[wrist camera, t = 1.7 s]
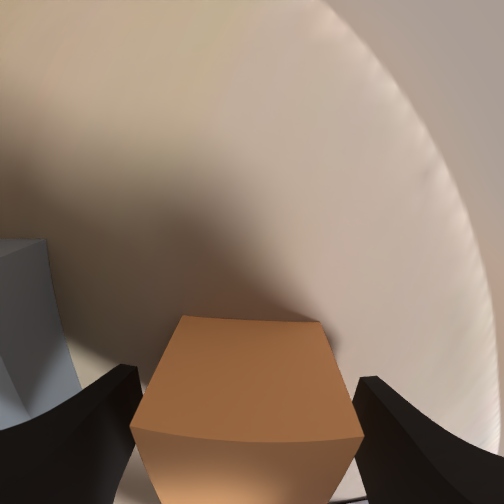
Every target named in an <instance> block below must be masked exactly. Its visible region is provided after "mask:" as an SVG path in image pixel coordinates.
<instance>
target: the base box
mask: <svg viewBox="0 0 504 504" xmlns="http://www.w3.org/2000/svg"><path fill="white" fill-rule="evenodd" d="M80 391H82V388H81V385H80V382H79V379H78V377H77V374H76V371H75V368H74V365H73V362H72V359H71V356H70V352H69V349H68V346H67V342H66V339H65V335H64V332H63V328H62V324H61V320H60V316H59V312H58V307H57V303H56V298H55V293H54V288H53V283H52V277H51V272H50V265H49V259H48V251H47V243H46V239H0V430H3V429H6V428H9V427H12V426H15V425H18V424H21V423H23V422H26V421H28V420H30V419H33V418H35V417H37V416H39V415H41V414H43V413H45V412H47V411H49V410H51V409H53V408H54V407H56V406H58V405H59V404H61V403H63V402H64V401H66V400H68V399H69V398H71V397H73V396H74V395H76V394H77V393H79V392H80Z"/></svg>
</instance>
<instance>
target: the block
mask: <svg viewBox="0 0 504 504" xmlns="http://www.w3.org/2000/svg"><path fill="white" fill-rule="evenodd" d="M130 429H131V432H132V435H133V437H134V440H135V443H136V446H137V448H138V451H139V453H140V456H141V458H142V461H143V463H144V466H145V468H146V471H147V473H148V475H149V478H150V480H151V482H152V484H153V486H154V489H155V491H156V493H157V495H158V497H159V499H160V501H161V503H162V504H327V503H328V502H329V500H330V499H331V497H332V495H333V494H334V492H335V490H336V489H337V487H338V485H339V484H340V482H341V480H342V478H343V477H344V475H345V473H346V471H347V469H348V468H349V466H350V464H351V462H352V460H353V458H354V456H355V454H356V452H357V450H358V448H359V446H360V444H361V442H362V440H363V438H364V434H363V431H362V428H361V425H360V423H359V420H358V417H357V415H356V412H355V409H354V407H353V404H352V401H351V399H350V396H349V393H348V391H347V388H346V386H345V383H344V381H343V378H342V375H341V373H340V370H339V368H338V365H337V363H336V360H335V358H334V355H333V353H332V350H331V348H330V345H329V343H328V340H327V338H326V335H325V333H324V331H323V328H322V326H321V323H320V322H287V321H259V320H239V319H222V318H208V317H195V316H183V315H182V317H181V319H180V321H179V323H178V325H177V327H176V329H175V331H174V333H173V335H172V337H171V339H170V341H169V343H168V345H167V347H166V349H165V352H164V354H163V356H162V358H161V360H160V362H159V364H158V366H157V368H156V370H155V372H154V374H153V376H152V378H151V381H150V383H149V385H148V387H147V389H146V391H145V393H144V395H143V398H142V400H141V402H140V404H139V406H138V408H137V410H136V413H135V415H134V417H133V419H132V421H131V424H130Z"/></svg>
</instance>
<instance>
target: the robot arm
mask: <svg viewBox="0 0 504 504" xmlns="http://www.w3.org/2000/svg"><path fill="white" fill-rule="evenodd" d="M142 398H143V393H142V388H141V384H140V379H139V374H138V369H137V367H136V366H130V365H125V364H119V365H118V366H116V367H115V368H113V369H112V370H110V371H109V372H107V373H106V374H105V375H103V376H102V377H100V378H99V379H98V380H96V381H95V382H93V383H92V384H90V385H89V386H87V387H86V388H85V389H83V390H82V391H80V392H79V393H77V394H76V395H74V396H73V397H71V398H69V399H68V400H66V401H64V402H63V403H61V404H59V405H58V406H56V407H54V408H53V409H51V410H49V411H47V412H45V413H43V414H41V415H39V416H37V417H35V418H33V419H30V420H28V421H26V422H23V423H21V424H18V425H15V426H12V427H9V428H6V429H3V430H0V504H113V501H114V497H115V494H116V490H117V487H118V485H119V482H120V479H121V477H122V475H123V472H124V470H125V468H126V465H127V463H128V461H129V458H130V456H131V454H132V451H133V449H134V447H135V444H136V443H135V440H134V437H133V435H132V432H131V429H130V424H131V421H132V419H133V417H134V415H135V413H136V410H137V408H138V406H139V404H140V402H141V400H142ZM352 404H353V407H354V409H355V412H356V415H357V417H358V420H359V423H360V425H361V428H362V431H363V434H364V438H363V440H362V442H361V444H360V446H359V448H358V450H357V452H356V454H355V456H354V457H355V460H356V463H357V466H358V469H359V472H360V475H361V479H362V482H363V485H364V488H365V491H366V495H367V499H368V500H364V501H359V502H353V503H348V504H504V457H502V456H499V455H495V454H493V453H490V452H488V451H485V450H483V449H480V448H478V447H476V446H474V445H472V444H470V443H468V442H466V441H464V440H462V439H460V438H458V437H457V436H455V435H453V434H451V433H450V432H448V431H447V430H445V429H444V428H442V427H441V426H439V425H438V424H436V423H435V422H433V421H432V420H431V419H429V418H428V417H427V416H425V415H424V414H423V413H421V412H420V411H419V410H418V409H416V408H415V407H414V406H413V405H411V404H410V403H409V402H408V401H406V400H405V399H404V398H403V397H402V396H401V395H399V394H398V393H397V392H396V391H395V390H393V389H392V388H391V387H390V386H389V385H388V384H386V383H385V382H384V381H383V380H381V379H380V378H379V377H378V376H369V377H360V379H359V382H358V385H357V388H356V391H355V395H354V398H353V400H352Z"/></svg>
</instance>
